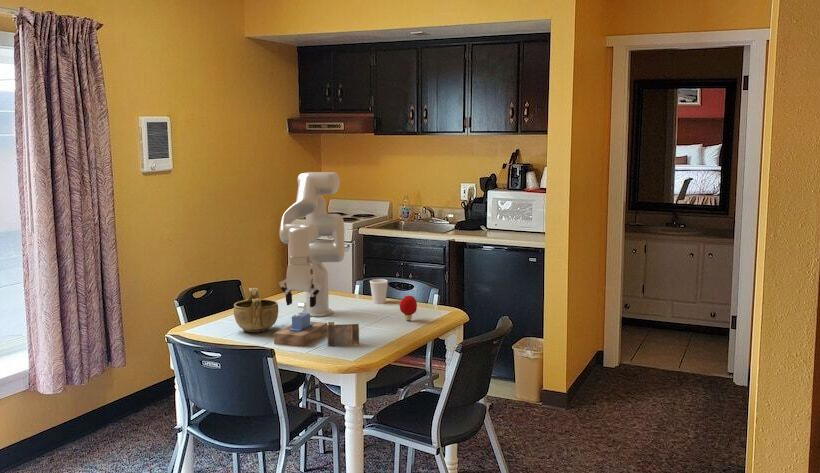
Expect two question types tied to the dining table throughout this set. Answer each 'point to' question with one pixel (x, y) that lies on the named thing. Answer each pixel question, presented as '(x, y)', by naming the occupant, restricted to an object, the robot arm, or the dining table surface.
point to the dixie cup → (378, 290)
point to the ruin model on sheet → (343, 334)
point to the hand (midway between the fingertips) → (301, 305)
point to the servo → (301, 322)
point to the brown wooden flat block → (300, 335)
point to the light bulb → (408, 306)
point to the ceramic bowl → (255, 312)
